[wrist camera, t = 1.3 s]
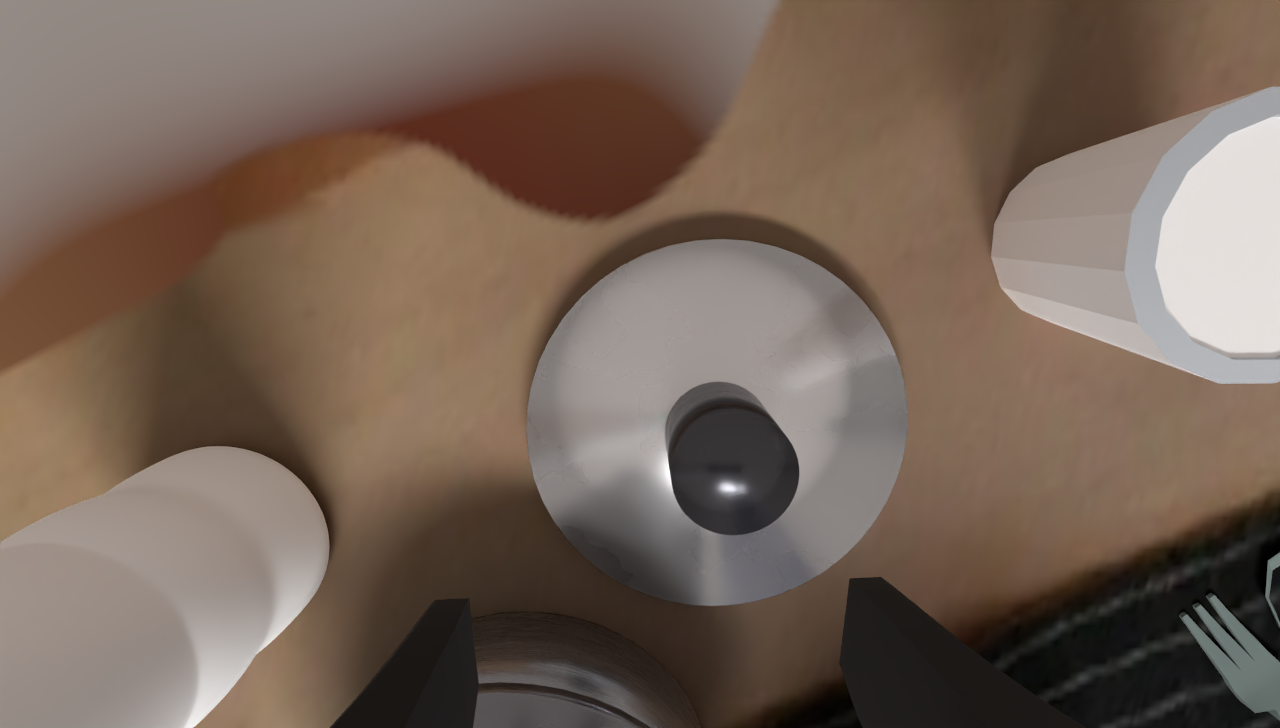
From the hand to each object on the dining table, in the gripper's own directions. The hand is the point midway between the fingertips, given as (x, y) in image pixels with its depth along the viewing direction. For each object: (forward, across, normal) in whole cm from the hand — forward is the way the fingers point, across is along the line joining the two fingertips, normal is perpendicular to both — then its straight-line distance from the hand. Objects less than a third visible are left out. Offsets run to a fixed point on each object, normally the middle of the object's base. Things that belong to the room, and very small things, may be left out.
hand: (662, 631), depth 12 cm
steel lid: (+11, -3, +1) cm, 12 cm away
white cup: (+11, -15, -5) cm, 19 cm away
